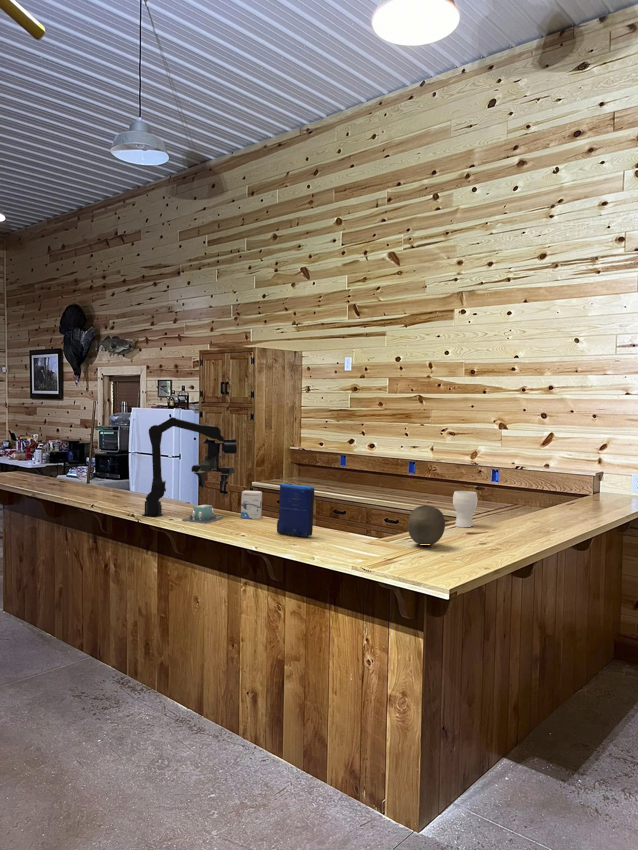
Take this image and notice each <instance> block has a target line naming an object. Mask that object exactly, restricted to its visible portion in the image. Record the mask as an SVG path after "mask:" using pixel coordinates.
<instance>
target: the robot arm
mask: <svg viewBox="0 0 638 850" xmlns="http://www.w3.org/2000/svg"><path fill="white" fill-rule="evenodd" d="M173 427H174V428H179V429H182V430H183V429H184V430H187V431H191V432H195V433H199V434H201V435H203V436H205V437H206V438H205V440H204V441H202V444H205V445H206V455H205V457H204V460H203V461H202V462H200V463H199V464H194V465H192V466H191V470H190V471H191V473H193V474H194V475H196V476H197V478H198V480H199V482H200V485H201V488H202V489H204V488H205V485H206V484H205V483H206V473H210V472H215V473H221V474H219V476H220V490H224V486H225V484H226V482H227V481H228V479H229V477H230V476H232V474H235V468H234V466H222V465H221V463H220V459H221V458H222V456H221V452H222V453H223V455H237V451H238V447H237V439H236V438H231V439H226V438H224V437H223V435H221V434H222V431H221V428H219V427H218V426H216V425H211V424H210V425H209V424H199V423H196V422H192V421H188V420H184V419H180V418H177V417H174V416H171V417H170V418H168V419H167V420H165V421H163V422H162V423H160V424H153V425H152V426H150V427H149V429H148V435H149V440H150V444H151V458H152V463H151V464H152V481H151V488H150V492H149V493H147V495H146V497H145V501H144V511H143V514H142V515H141V516H142V517H143V516H144V517H152V518H154V517H159V516H160V517H161V516H163V513H162V512H163V511H162V510H163V509H162V505H163V504H162V501H160V499H162V498H163V497H164V495H165V492H167V488H166V484H167V483H166V480H163V477H162V456H161V455H162V451H161V445H162V438H163V433H164V432H167V431H168V430H169V429H171V428H173ZM207 437H208V438H210V439H208V438H207ZM216 440H217V441H216Z"/></svg>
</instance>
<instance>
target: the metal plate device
mask: <svg viewBox="0 0 638 850" xmlns="http://www.w3.org/2000/svg"><path fill="white" fill-rule="evenodd" d="M214 511H215V508H214V507H212V516H208V517H207V519H203V520H202V512H201V511H200V512H199V515H198V519H195V516H196V511H194V510H192V511H191V512H192V513H191V514H190V515H189V516H188V517H183V518H182V519H181V521H182V522H187V521H189V522H190V523H197V522H198V523H200V524H207V523H208V524H210V523H213V521H214V522H216V521H220V520H222V519H224V516H220V515H217V514H214V513H215V512H214ZM189 522H188V523H189Z"/></svg>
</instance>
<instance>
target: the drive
mask: <svg viewBox="0 0 638 850" xmlns="http://www.w3.org/2000/svg"><path fill="white" fill-rule="evenodd" d="M212 508H213V505H212V504H211V505H209V504H201V505H196V506H193V511H196V516H195V519H198V515H199V512H200V511H201V512H202V520H203V519H207V517H208V516H212Z"/></svg>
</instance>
